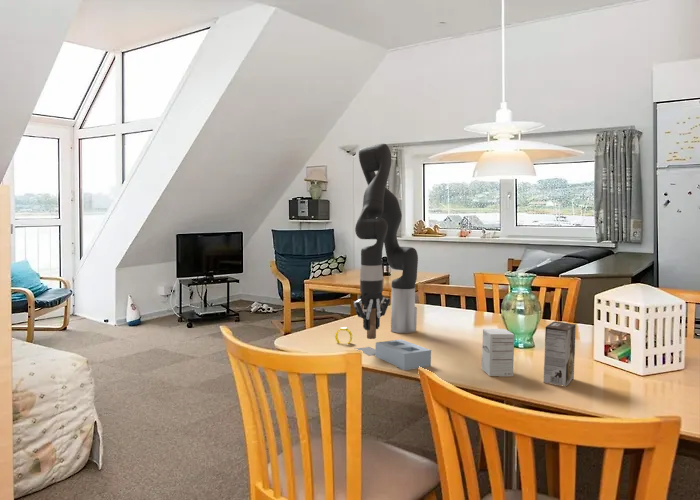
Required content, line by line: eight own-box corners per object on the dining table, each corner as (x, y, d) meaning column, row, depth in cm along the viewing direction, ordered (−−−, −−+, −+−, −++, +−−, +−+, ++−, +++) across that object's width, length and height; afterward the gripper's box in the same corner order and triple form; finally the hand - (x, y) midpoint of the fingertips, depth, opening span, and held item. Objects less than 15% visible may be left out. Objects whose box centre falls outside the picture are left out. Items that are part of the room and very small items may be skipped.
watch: (334, 345, 202) (333, 328, 202) (337, 343, 205) (336, 326, 204) (350, 345, 200) (349, 328, 200) (353, 343, 203) (352, 327, 202)
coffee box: (551, 375, 167) (553, 320, 166) (574, 379, 164) (576, 323, 163) (542, 382, 160) (544, 326, 159) (566, 387, 156) (568, 329, 155)
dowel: (372, 336, 193) (372, 307, 192) (377, 338, 191) (377, 308, 190) (365, 337, 192) (365, 308, 191) (370, 339, 189) (370, 309, 188)
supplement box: (480, 369, 172) (482, 328, 171) (504, 369, 173) (506, 328, 172) (488, 377, 165) (490, 333, 164) (513, 376, 166) (515, 333, 165)
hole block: (400, 354, 189) (401, 339, 189) (430, 366, 175) (431, 350, 175) (375, 357, 184) (375, 342, 184) (404, 370, 171) (404, 353, 170)
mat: (369, 347, 197) (369, 346, 197) (384, 354, 189) (384, 353, 189) (354, 349, 194) (354, 348, 194) (369, 356, 186) (369, 355, 186)
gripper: (382, 275, 196) (382, 324, 198) (347, 278, 189) (347, 329, 191) (395, 278, 190) (395, 329, 191) (359, 281, 183) (359, 334, 184)
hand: (371, 329), depth 191 cm, fingers closed on dowel, 3 cm apart
